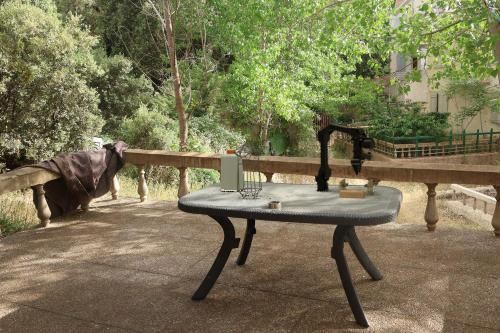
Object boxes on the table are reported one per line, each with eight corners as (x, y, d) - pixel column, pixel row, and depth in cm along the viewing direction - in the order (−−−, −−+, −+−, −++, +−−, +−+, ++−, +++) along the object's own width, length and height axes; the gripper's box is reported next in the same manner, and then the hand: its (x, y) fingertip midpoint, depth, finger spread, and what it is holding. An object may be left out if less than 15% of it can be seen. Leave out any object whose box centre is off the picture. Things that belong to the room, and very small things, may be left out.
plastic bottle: (240, 192, 310) (238, 150, 306) (218, 192, 314) (216, 151, 310) (246, 188, 324) (244, 148, 320) (226, 188, 328) (224, 149, 325)
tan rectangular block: (339, 198, 277) (339, 191, 276) (341, 196, 282) (341, 189, 282) (362, 199, 271) (362, 192, 270) (364, 197, 276) (364, 190, 276)
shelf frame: (339, 194, 286) (339, 181, 285) (343, 190, 297) (343, 178, 296) (369, 195, 279) (369, 182, 278) (372, 191, 290) (372, 179, 289)
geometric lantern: (233, 199, 287) (230, 143, 284) (244, 195, 301) (241, 141, 298) (256, 200, 280) (253, 142, 277) (266, 195, 295) (264, 141, 291)
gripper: (369, 149, 267) (369, 176, 269) (373, 146, 284) (373, 171, 286) (350, 149, 271) (350, 176, 273) (355, 146, 288) (355, 171, 290)
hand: (358, 173), depth 281 cm, fingers open, 9 cm apart
